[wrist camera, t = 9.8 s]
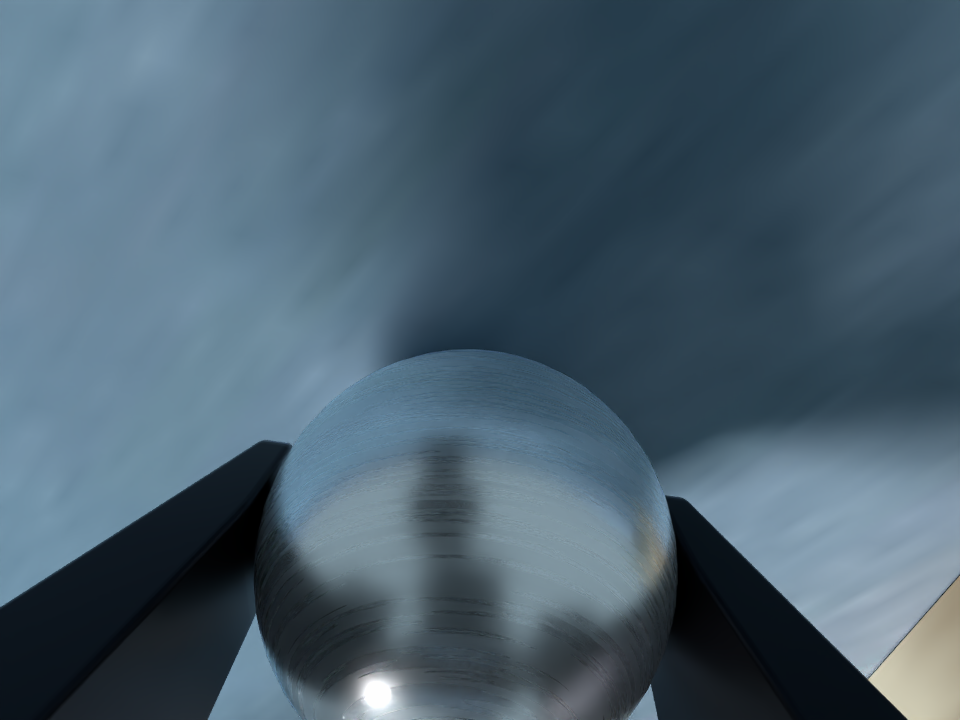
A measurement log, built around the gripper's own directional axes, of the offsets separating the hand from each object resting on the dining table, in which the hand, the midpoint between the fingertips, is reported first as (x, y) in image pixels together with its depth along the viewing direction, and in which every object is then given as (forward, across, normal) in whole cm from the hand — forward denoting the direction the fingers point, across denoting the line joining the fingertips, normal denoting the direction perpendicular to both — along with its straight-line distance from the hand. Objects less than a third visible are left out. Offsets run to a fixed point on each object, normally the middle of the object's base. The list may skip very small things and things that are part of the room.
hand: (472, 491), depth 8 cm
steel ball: (-1, 0, 0) cm, 1 cm away
